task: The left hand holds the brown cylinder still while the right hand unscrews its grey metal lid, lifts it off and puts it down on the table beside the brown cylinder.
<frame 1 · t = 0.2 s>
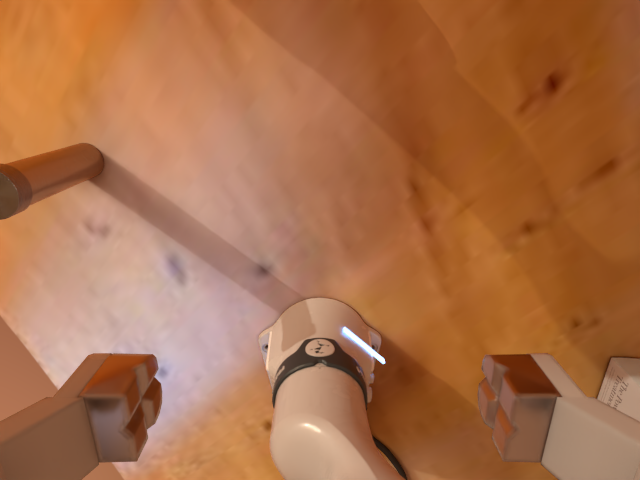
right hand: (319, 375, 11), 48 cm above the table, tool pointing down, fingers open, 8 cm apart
skincare box: (604, 409, 71), on the table
brown cylinder: (86, 160, 57), on the table
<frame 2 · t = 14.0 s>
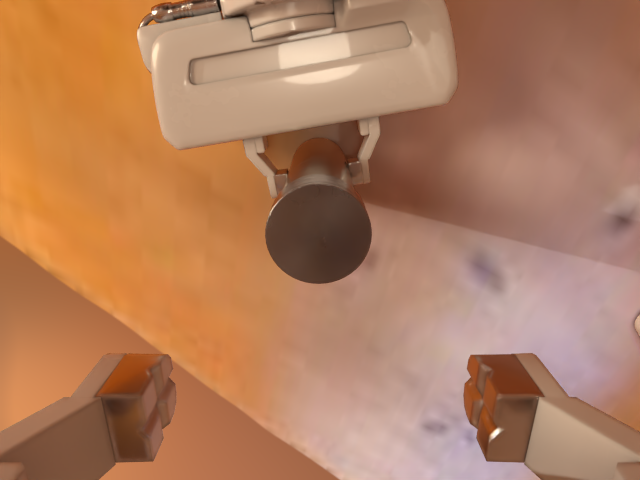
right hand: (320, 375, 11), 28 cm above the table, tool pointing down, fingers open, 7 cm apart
left hand: (321, 189, 32), fingers closed on brown cylinder, 4 cm apart
lid: (318, 233, 20), point 17 cm above the table, screwed on, not yet turned
brown cylinder: (319, 164, 37), on the table, touching left hand
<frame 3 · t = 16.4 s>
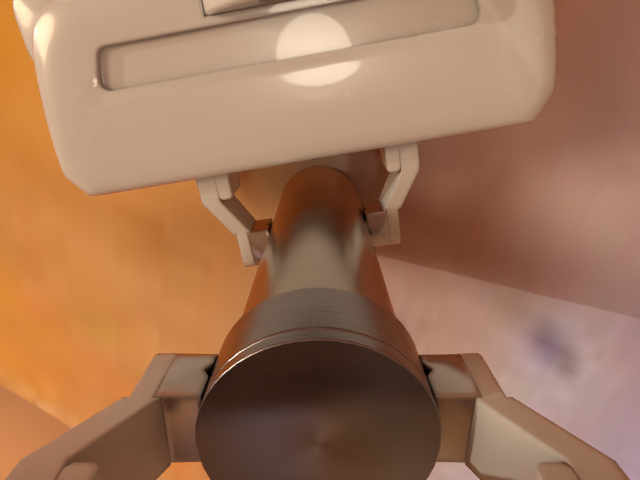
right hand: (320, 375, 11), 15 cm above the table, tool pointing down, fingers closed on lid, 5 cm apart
left hand: (323, 251, 21), fingers closed on brown cylinder, 4 cm apart
lid: (318, 430, 9), point 17 cm above the table, screwed on, not yet turned, touching right hand
brown cylinder: (319, 204, 25), on the table, touching left hand
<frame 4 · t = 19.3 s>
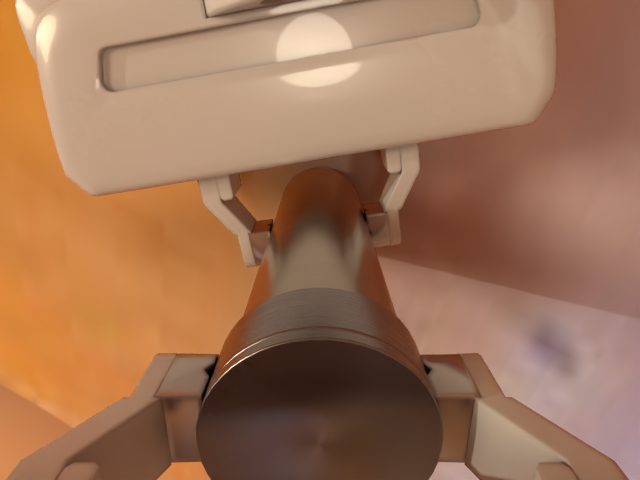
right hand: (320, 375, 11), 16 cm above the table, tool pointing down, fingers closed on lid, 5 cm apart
left hand: (324, 251, 21), fingers closed on brown cylinder, 4 cm apart
lid: (319, 431, 9), point 17 cm above the table, turned 71° so far, risen 0.1 cm, still on its thread, touching right hand
brown cylinder: (320, 205, 25), on the table, touching left hand
when the right hand's fingers open (2 cm above the table, at t = 33.7 s): lid drops 2 cm, point 2 cm above the table.
when the left hand's fingers open (5 cm above the table, at t = 34.7 s): brown cylinder stays where it is, on the table.
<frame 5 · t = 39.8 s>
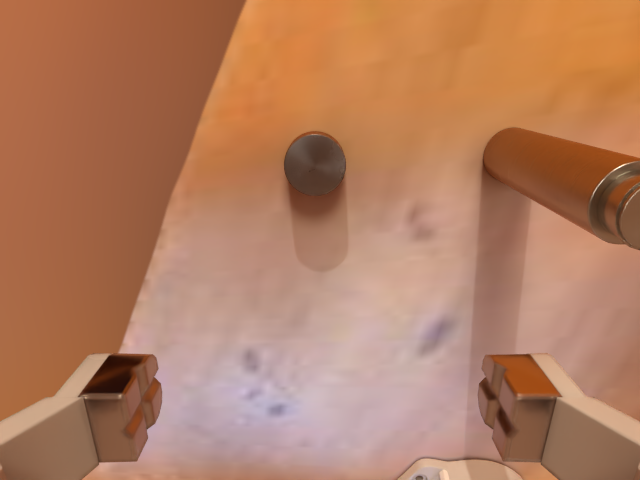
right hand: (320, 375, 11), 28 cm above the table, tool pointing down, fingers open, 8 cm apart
lid: (315, 165, 35), point 2 cm above the table, off its thread
brown cylinder: (509, 154, 37), on the table
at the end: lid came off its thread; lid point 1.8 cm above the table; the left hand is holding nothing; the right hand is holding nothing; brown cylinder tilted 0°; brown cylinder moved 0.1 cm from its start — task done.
